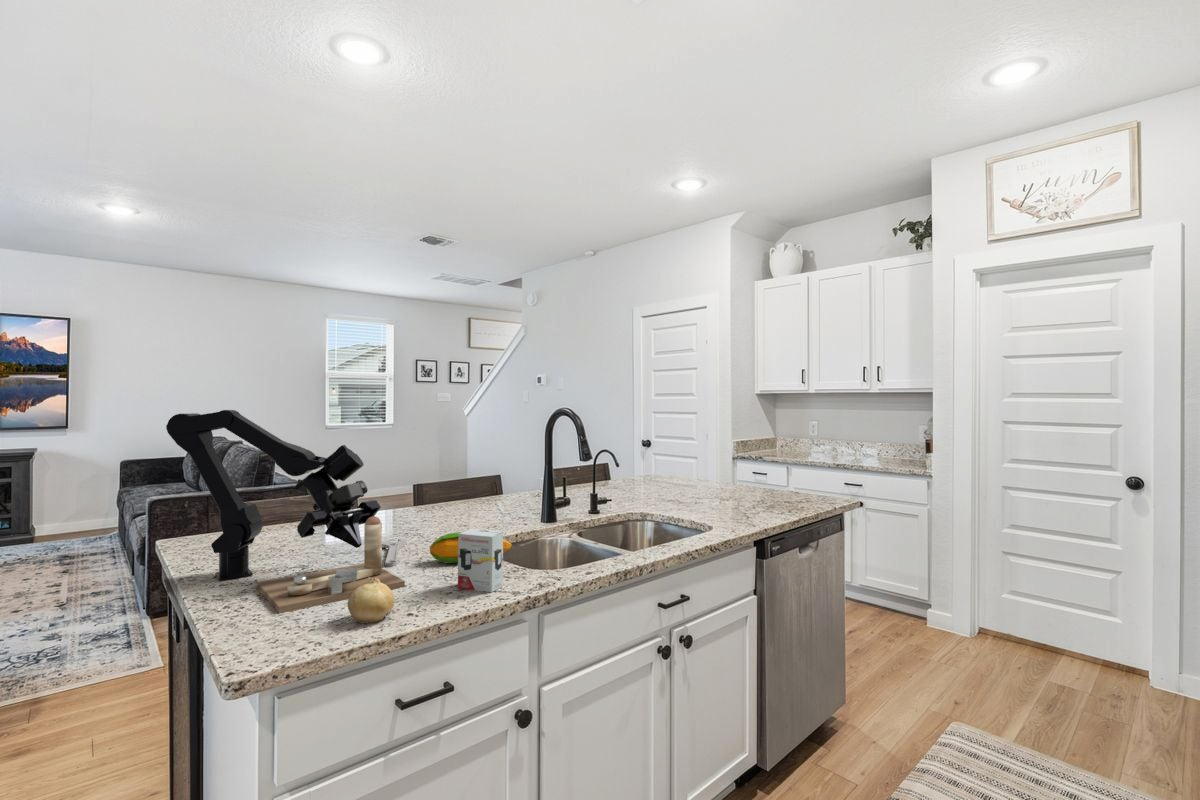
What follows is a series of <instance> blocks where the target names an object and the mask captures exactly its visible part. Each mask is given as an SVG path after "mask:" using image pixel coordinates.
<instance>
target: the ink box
mask: <svg viewBox="0 0 1200 800" xmlns="http://www.w3.org/2000/svg"><path fill="white" fill-rule="evenodd" d="M458 533H459V534H458V563H457V589H461V590H468V591H475V590H476V592H477V591H478V592H484V591H485V592H484V593H493V592H495V591H497V590H498V589H500V588H502V587H503V586H504V583H503V582H504V568H503V567H504V566H503V565H504V552H503V539H504V532H502V531H501V530H491V529H480V528H469V529H467V530H465V531H463V532H462V533H460V532H458Z"/></svg>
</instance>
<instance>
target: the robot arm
mask: <svg viewBox="0 0 1200 800" xmlns="http://www.w3.org/2000/svg"><path fill="white" fill-rule="evenodd" d="M165 428H166V431H167V434H168V435H169V437H170V438H171V439H172V440H173V441H174V442H175V444H176V445H178V447H179V448H181V449H182V450H183V451H185V452H186V453H188V455H189V456H190V458H191V459H192V461H193V463H194V465H195V467H196V469H197V471H198V473H199V474H200V477H201V478H202V480H203V481H204V484H205V485H206V487H207V489H208V491H209V493H210V495H211V496H212V498H213V500H214V502H215V504H216V506H217V507H218V510H219V526H220V528H221V532H222V533H221V535H219V536H218V537H217V538H216V539H215V540H214V541H213V542H212V543H211V548H212V550H213V553H214V554H218V571H216V572H215V573H214V575H215V576H216V578H217V579H218V581H225V580H230V579H232V580H233V579H236V578H241V577H243V578H244V577H247V576H253V575H254V572H253V571H252V570H251V569H250V568H249V563H250V562H249V555H250V553H249V552H250V550H249V548H250V547H249V546H250V545H252V544H254V541H255V539H256V537H257V536H259V535H260V533H261V532H262V531H263V530H262V529H263V527H264V523H263V521H262V520H263V519H264V516H263V515H261V513H260V512H259V509H258V506H257V504H256V503H251V504H247V503H246V502H245V501H243V500H242V498H241V496H240V494H239V493H238V491H237V489H236V487H235V485H234V484H233V481H232V479H231V477H230V476H229V474H228V472H227V470H226V469H225V467H224V464H223V462H222V461H221V459H220V457H219V455H218V453H217V452H216V450H215V448H214V444H213V443H214V442H213V431H217V430H221V429H225V430H227V431H229V432H230V433H232V434H234V435H236V436H237V437H239V438H240V439H241V440H243V441H245V442H247V443H248V444H250V445H252V446H253V447H255V448H257V449H258V450H260V451H261V452H263V453H265V454H266V455H267V456H269V457H270V458H271V459H272V460H273V462H274V463H275V464H276V465H277V466H278V467H279V468H280V469H281V470H283V472H284V473H286V474H287V475H289V476H290V477H298V476H303V475H305V474H308V475H307V476H305V477H304V478H302V479H297V482H296V484H295V487H294V491H297V492H300V493H303V494H304V493H306V492H307V493H308V494H309V496H310V498H311V499H312V500H313V502H314V504H313V506H312V508H313V509H314V510H311V511H307V512H306V514H305V515H304V516H303V518H302V519H301V521H299V523H298V524H297V527H296V529H297V530H296V532H297V534H298V535H299V536H300V538H307V537H311V536H313V535H314V534H315V533H316V530H315V529H316V528H315V527H321V526H325V527H326V530H325V532H324V534H325V535H326V536H331V537H333V538H335V539H338V540H340V541H343V542H345V543H346V544H348V545H350V546H352V547H354V548H356V549H358V548H361V546H362V545H363V543H362V538H361V534H360V525H364V524H366V521H367V519H368V518H370V517H372V516H375V515H377V513H378V512H379V510H380V509H381V505H380V503H379V502H378V500H375V499H372V500H366V501H361V502H360V503H359V505H358V506H357V508H354V509H352V507H354V506H355V504H356V500H358V499H359V498H363V497H364V496H365V494H367V493H368V490H369V489H368V486H367V485H366V483H365V481H363V480H357V481H355V482H353V483H349V484H345V485H341V486H339V487H338V486H337V485H336V483H335V482H337V481H342V482H345V481H346V480H347V479H348V478H350V477H351V476H352V475H354V474H355V473H356V472H357V471H359V470H360V469H362V467H364V462H363V460H362V459H361V458H360V455H358V454H357V453H355V452H354V451H353V450H351V449H350V448H348V447H347V446H346V445H345V444H343V445H341V446H339V447H337V449H336V450H335V451H334V452H333V453H332V454H330V455H329V456H328V457H325V456H324V457H323V456H319V455H318V456H317V455H316V454H315V453H314V452H313V451H311V450H309V449H307V448H304V447H302V446H299V445H296V444H293V443H290V442H287V441H284V440H282V439H281V438H279V437H277V436H275V435H274V434H273V433H271V432H270V431H268V430H266V429H265V428H263V427H262V426H260V425H258V424H256V423H255V422H254V421H252V420H250V419H248V418H247V417H245V416H244V415H242V414H241V413H240V412H239V411H237V410H235V409H222V410H220V411H216V412H210V413H202V414H200V413H197V412H196V413H193V412H192V413H177V414H174V415H172V416H171V417H170V418H169V419H168V422H167V424H166V427H165ZM318 469H319V470H318ZM315 470H317V471H315ZM312 471H315V472H312ZM375 517H376V516H375Z"/></svg>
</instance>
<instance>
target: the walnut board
mask: <svg viewBox="0 0 1200 800" xmlns="http://www.w3.org/2000/svg"><path fill="white" fill-rule="evenodd" d="M360 567H364V563H359V564H354V565H346V566H341V567H336V568H330V569H325V570H319V571H313V572H309V573H308V572H307V573H302V574H301V573H300V574H296V575H291V576H285V577H280V578H279V577H278V578H273V579H269V580H263V581H257V582H256V589H257V590H258V591H259V593H261V595H263V597H264V598H265V599H266V600H267V601H268V603H270V604H271V606H272V607H273V608H274V609H275V610H276V611H277V612H278V614H282V613H287V612H292V611H296V610H300V609H306V608H311V607H315V606H320V604H321V605H324V604H330V603H334V602H338V601H339V602H340V601H343V600H349V597H350V595H351V594H352V593H353V591H354V590H356V589H357V588H358V587H360V586H362V585H364V584H368V583H369V582H370V581H371V580H369V578H368V577H365V578H361V579H357V581H351V582H345V583H342V593H340V594H335V595H331V594H329V587H326V588H322V589H318V590H314V591H311V592H310V593H307V594H303V595H288V585H289V584H291V583H294V577H297V576H306V580H311V579H315V578H319V577H323V576H327V575H331V574H336V571H337V570H339V569H349V568H360ZM369 577H370V578H371V579H374V578H378V579H379V580H380V583H383V584H385V585H387V586H388V587H389V588H390V590H391V591H392V590H394V589H400V587H401V588H405V585H406V581H405V580H404V579H402V578H400V577H399V576H396V575H395V574H393V573H391V572H390V571H388V570H386V569H384V568H382V573H381V574H378V575H373V576H369Z"/></svg>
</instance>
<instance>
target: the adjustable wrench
mask: <svg viewBox="0 0 1200 800" xmlns="http://www.w3.org/2000/svg"><path fill="white" fill-rule="evenodd" d="M406 544H407V545H408V539H405V538H398V539H397V541H393V542H392V541H390V540H387V539H386V540H384V541H382V548H388V549H389V550H388V551H387V552H388V553H387V555H386V559H385V561H384V563H385V564H384V566H387V567H386V568H394V567H393V566H395V567H397V566H396V565H398V557H397V556H398V554H399V550H400V549H399V548H400V547H402V546H404V545H406ZM398 549H399V550H398Z"/></svg>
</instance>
